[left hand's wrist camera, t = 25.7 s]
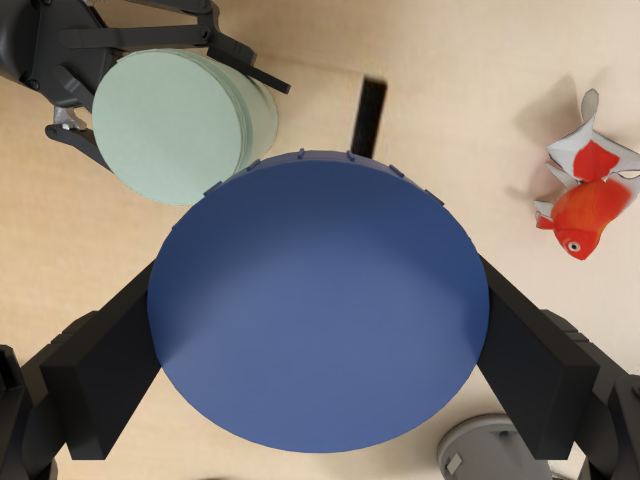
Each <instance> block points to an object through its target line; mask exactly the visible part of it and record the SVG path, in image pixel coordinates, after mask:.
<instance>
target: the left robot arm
mask: <svg viewBox="0 0 640 480" xmlns="http://www.w3.org/2000/svg"><path fill="white" fill-rule="evenodd" d="M477 253H478V252H477ZM478 255H479V258H480V260H481V262H482V265H483V268H484V272H485V276H486V280H487V284H488V291H489V302H490V310H489V325H488V330H487V334H486V338H485V343H484V346H483V348H482V351H481V354H480V356H479V359H478V361H477V363H476V364H477V366H478V367H479V369H480V371H481V372H482V374H483V375H484V377H485V379H486V380H487V382H488V384H489V385H490V387H491V389H492V390H493V392H494V394H495V395H496V397H497V398H498V400H499V402H500V403H501V405H502V407H503V408H504V410H505V412H506V413H507V415H502V414H491V415H483V416H479V417H475V418H472V419H469V420H467V421H465V422H462V423H461V424H459V425H457V426H456V427H454V428H453V429H452V430H450V431H449V432H448V433H447V434H446V435H445V437H444V438H443V439H442V441H441V443H440V445H439V447H438V450H437V460H438V464H439V467H440V470H441V473H442V475H443V477H444V478H445V480H563V479H559V478H554V477H552V475H551V472H550V468H549V465H548V461H547V460H568V457H569V454H570V451H571V448H572V446H573V443H574V441H575V442H576V443H577V445H578V446H579V447H580V449H581V450H582V451H583V453H584V454H585V455H586V458H585V461H584V463H583V466H582V469H581V471H580V474H579V476H578V479H577V480H640V376H638V375H629V374H628V373H627V372H626V371H625V370H623V369H622V368H621V367H620V366H619V365H618V364H616V363H615V362H614V361H613V360H612V359H611V358H609V357H608V356H607V355H606V354H605V353H604V352H603V351H601V350H600V349H599V348H598V347H597V346H596V345H594V344H593V343H590V342H589V339H587V338H586V337H585V336H584V335H583V334H582V333H579V332H578V330H577V329H576V328H575V327H574V326H572V325H571V324H570V323H569V322H568V321H567V320H566V319H564V318H562V317H560V316H558V315H556V314H555V313H553V312H551V311H549V310H539V309H538V308H537V307H536V306H535V305H534V304H533V303H532V302H531V301H530V300H529V299H528V298H526V297H525V296H524V295H523V294H522V293H521V292H520V291H519V290H518V289H517V288H516V287H515V286H513V285H512V284H511V283H510V282H509V281H508V280H507V279H506V278H505V277H504V276H503V275H502V274H500V273H499V272H498V271H497V270H496V269H495V268H494V267H493V266H492V265H491V264H490V263H488V262H487V261H486V260H485V259H484V258H483V257H482V256H481V255H480V254H479V253H478ZM154 262H155V260H153V261H152V262H151V263H150V264H149V265H148V266H147V267H146V268H145V269H144V270H143V271H142V272H140V273H139V274H138V275H137V276H136V277H135V278H134V279H133V280H132V281H131V282H130V283H128V284H127V285H126V286H125V287H124V288H123V289H122V290H121V291H120V292H119V293H118V294H117V295H115V296H114V297H113V298H112V299H111V300H110V301H109V302H108V303H107V304H106V305H105V306H104V307H102V308H101V309H100V310H99V311H91V312H90V313H88V314H86V315H84V316H82V317H80V318H79V319H77V320H75V321H74V322H73V323H71V324H70V325H69V326H68V327H67V328H66V329H65V330H63V331H62V334H59V335H58V336H56V337H55V338H54V339H53V340H52V341H51V344H47V345H46V346H45V347H44V348H43V349H42V350H40V351H39V352H38V353H37V354H36V355H35V356H34V357H32V358H31V359H30V360H29V361H28V362H27V363H25V364H24V365H23V366H22V367H21V368H20V367H19V364H18V361H17V359H16V356H15V353H14V351H13V348H11V347H9V346H7V345H0V480H57V475H58V469H57V463H56V461H55V458H54V457H55V456H56V454H57V453H58V452H59V450H60V449H61V448H62V446H63V445H64V444H65V442H66V444H67V446H68V449H69V452H70V455H71V458H72V460H105V459H106V457H107V455H108V454H109V452H110V451H111V449H112V447H113V446H114V444H115V442H116V441H117V439H118V437H119V436H120V434H121V433H122V431H123V429H124V428H125V426H126V424H127V423H128V421H129V419H130V418H131V416H132V414H133V413H134V411H135V410H136V408H137V406H138V405H139V403H140V401H141V400H142V398H143V396H144V395H145V393H146V392H147V390H148V388H149V387H150V385H151V383H152V382H153V380H154V378H155V377H156V375H157V373H158V372H159V370H160V369H161V367H162V366H161V364H160V362H159V360H158V358H157V356H156V352H155V348H154V343H153V338H152V333H151V328H150V323H149V318H148V313H147V293H148V285H149V279H150V276H151V272H152V269H153V265H154Z"/></svg>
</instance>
